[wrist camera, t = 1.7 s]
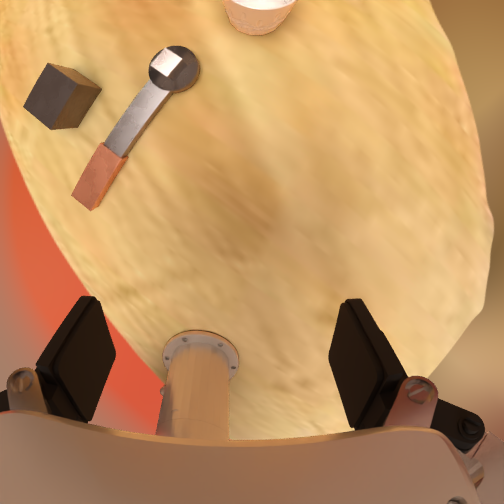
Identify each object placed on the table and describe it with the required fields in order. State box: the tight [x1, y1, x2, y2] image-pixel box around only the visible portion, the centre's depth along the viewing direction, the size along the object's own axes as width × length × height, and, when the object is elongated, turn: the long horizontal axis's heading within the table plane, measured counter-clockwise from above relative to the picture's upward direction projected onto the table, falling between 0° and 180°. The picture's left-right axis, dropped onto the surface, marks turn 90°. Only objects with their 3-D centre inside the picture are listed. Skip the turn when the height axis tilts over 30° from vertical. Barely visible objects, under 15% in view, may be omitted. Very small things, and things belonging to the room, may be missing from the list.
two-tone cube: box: [23, 63, 102, 130], centre depth 26 cm, size 6×6×6 cm
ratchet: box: [71, 46, 200, 211], centre depth 29 cm, size 23×6×6 cm, turn 139°
